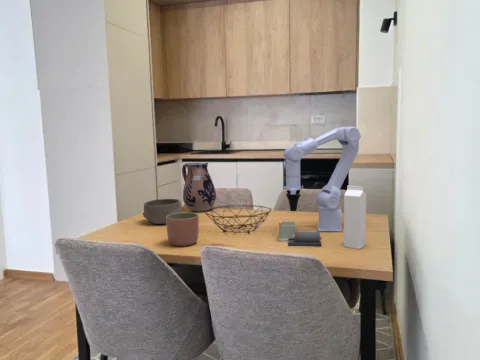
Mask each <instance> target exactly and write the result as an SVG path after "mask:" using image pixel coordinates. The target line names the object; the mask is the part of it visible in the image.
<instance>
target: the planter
mask: <svg viewBox="0 0 480 360" xmlns="http://www.w3.org/2000/svg"><path fill="white" fill-rule="evenodd" d="M199 219H200V218H199V214H198V213H197V212H188V211H186V212H185V211H182V212H181V213H174V214H169V215H167V216H166V224H165V225H166V234H167V239H168V242H169V244H170V245H172V246H176V247H187V246H191V245H194V244H195V243H197V242H198V238H199V232H200V231H199V229H200V228H199V224H200V223H199V222H200V221H199Z"/></svg>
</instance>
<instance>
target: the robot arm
mask: <svg viewBox="0 0 480 360" xmlns="http://www.w3.org/2000/svg"><path fill="white" fill-rule="evenodd" d="M361 138H362V135H361V133H360V131H359V129H358V127H356V126H343V125H342V126H339V127H336V128H333V129H331V130H329V131H328V132H326V133H323V134H322V135H319V136H318V137H316V138H312V137H305V138H304V140H303V141H300V142H295V143H293V144H294V145H290V146H287V147H286V148H285V149H284V152H283V154H282V155H283V157H284V159H285V182H286V184H285V185H286V186H283V188H282V189H284V190H286V194H285V196H286V197H287V200H288V203H289V209H290V211H291V212H297V209H298V203H299V199H300V197H301V189H302V186H301V160H302V158H303V157H305V156H308V155H310V154H312V153H314V152H316V151H317V149H318V147H319V146H322V145H324V144H327V143H329V142H331V141H334V140H337V141H338V143H339V144H340V145H341V146H342V149H343V152H342V155H341V156H340V159H339V161H338V162H337V164H336V166H335V168H334V171H333V172H332V174H331V177H330V178H329V180H328V183H327V184H326V185H324V186H323V187H322V189H321V190H320V191H318V193H317V194H316V197H315V201H316V203H317V205H318V225H317V226H316V227H317V232H342V226H343V216H342V214H343V213H342V209H341V208H338V206H339V204H340V199H341V195H342V194H341V188H342V186H343V184H344V181H345V179H346V177H347V176H348V174H349V172H350V169H351V168H352V165H353V164H354V161H355V159H356V158H357V155H358V153H359V149H360V148H359V147H360V145H359V144H360V140H361Z"/></svg>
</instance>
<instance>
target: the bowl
mask: <svg viewBox="0 0 480 360" xmlns="http://www.w3.org/2000/svg"><path fill="white" fill-rule="evenodd" d="M182 212H183V205H182V202H181V200H180V199H178V198H177V199H176V198H162V199H161V198H160V199H152V200H148V201H145V203H143V212H142V216H143V218H144V219H146V220H147V221H148V222H150V223H152V224H155V225H166V216H167V215H169V214H174V213H182Z"/></svg>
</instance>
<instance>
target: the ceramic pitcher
mask: <svg viewBox="0 0 480 360" xmlns="http://www.w3.org/2000/svg"><path fill="white" fill-rule="evenodd" d="M208 166H209V163H208V162H186V163H184V164H183V165H182V168H181V173H182V176H183V177H182V178H183V180H184V184H183V191H182V200H183V202H184V204H185V206H186V208H187V209H189V210H190V211H192V212H194V213H199V212H206V211H210V210H211V209H212V208H213V207H214V205H215V203H216V199H217V193H216V188H215V186H214V185H215V184H214V183H213V180H212V177H211V175H210V173H209V169H208Z"/></svg>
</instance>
